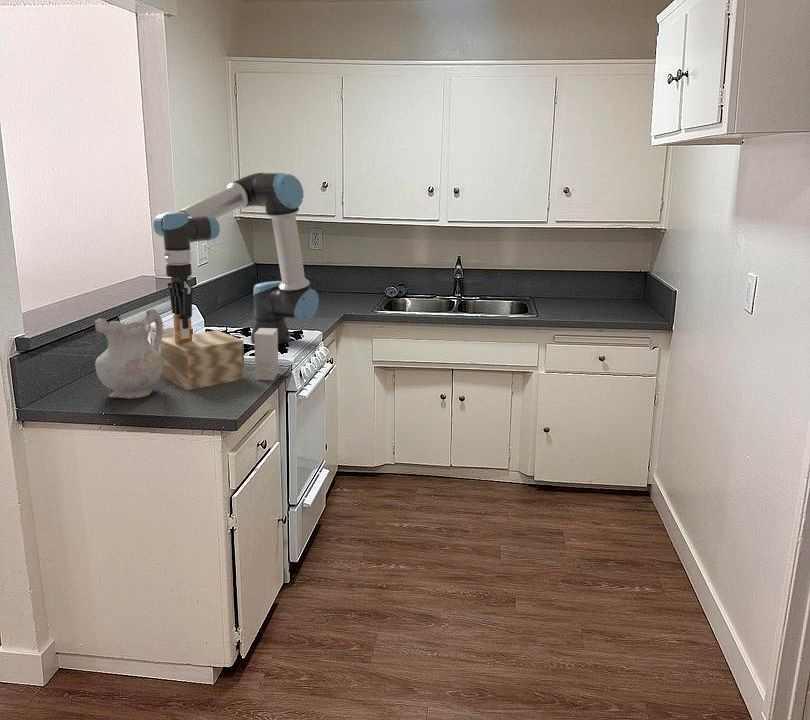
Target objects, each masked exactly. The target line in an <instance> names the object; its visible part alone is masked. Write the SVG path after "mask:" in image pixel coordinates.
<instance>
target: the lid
mask: <svg viewBox="0 0 810 720" xmlns="http://www.w3.org/2000/svg"><path fill="white" fill-rule="evenodd" d="M178 317H180V314H178V315H175V314H173V328H174V337H169V338H163V339H161V342H163V343H165V344H167V345H169V346H171V347H173V348H176V349H178V350H180V351H182V352H184V353H185V352H191V351H197V350H203V349H209V348H215V347H221V346H227V345H233V344H239V343H243V344H244V340H243V339H240V338H239V337H235V336H233V335H231V334H228V333H225V332H222V331H220V330H217V329H216V330H215V329H214V330H209V331H202V332H196V333H193V330H192V317H189V318H188V320H189V335H190V338H187V339H181V337H180V323H179V318H178Z"/></svg>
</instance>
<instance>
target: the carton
mask: <svg viewBox="0 0 810 720" xmlns="http://www.w3.org/2000/svg"><path fill="white" fill-rule="evenodd" d="M160 347H161V355H162V357H163V360H164V370H163V373H162V378H163V379H165V380H167V381H169V382H171V383H173V384H174V385H177V386H178V387H179V388H182V389H184V390H186V391H192V390H196V389H201V388H206V387H211V386H216V385H221V384H226V383H231V382H236V381H240V380H241V381H242V380H246V373H245V371H246V370H245V354H244V353H245V352H244V351H245V350H244V342H243V343H239V344H233V345H227V346H221V347H215V348H209V349H203V350H197V351H191V352H185V353H184V352H182V351H180V350H178V349H176V348H173V347H171V346H169V345H167V344H165V343H163V342H160Z"/></svg>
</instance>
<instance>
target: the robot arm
mask: <svg viewBox="0 0 810 720" xmlns="http://www.w3.org/2000/svg"><path fill="white" fill-rule="evenodd" d="M304 195H305V194H304V189H303V186H302V183H301V182H300V180H299V179H298V178H297V177H296V176H295V175H292V174H290V173H283V172H281V173H279V172H269V173H268V172H256V173H255V172H254V173H252V174H248V175H246V176H244V177H242V178H240V179H237V180H234V181H232V182H230V183H229V184H227V187H226V188H224V189H222V190H220V191H218V192H216V193H214V194H211V195H209V196H207V197H205V198H203V199H201V200H198V201H197V202H194V203H192V204H190V205H188V206H186V207H184V208H181V209H179V210H176V211H168V212H167V211H166V212H165V213H160V214H158V215H157V216H156V217H155V218H154V219H153V230H154V232H155V234H156V235H157V236H159V237H162V238H163V242H164V243H163V245H164V246H163V247H164V254H163V256H164V257H165V263H166V264H165V271H166V276H167V277H168V278H171V281H170V282H167V288H168V291H169V293H168V294H169V299H170V300H169V301H170V306H171V307H170V308H171V313H172V314H173V315H178V314H180V317H178V318H179V323H180V337H181V339H187V338H190V335H189V320H188V318H189V317H191V318H192V316H193V292H194V288H193V286H190V285H189V279H188V277H191V276H192V275H193V272H192V271H193V269H192V264H191V262H192V253H191V243H195V242H202V241H203V242H205V241H211V240H215V239H217V238H218V236H219V235H220V230H221V229H220V223H219V221H218V220H217V218H220V217H222V216H223V215H226V214H228V213H231V212H233V211H234V210H236V209H238V210H243V209H245V208H248V207H255V206H256V207H265V212H266V216H268V217H269V218H270V219H271V222H272V224H271V225H272V228H273V229H272V230H273V235H274V241H275V246H276V252H277V253H276V255H277V259H278V266H279V272H280V278H281V280H276V281H275V280H274V281H272V280H271V281H264V282H259V283H256V284H255V285H254V286H253V294H252V297H253V317H254V322H253V323H254V324H253V327H252V331H251V335H250V342H251V343H252V344H254V345H255V342H254V334H255V333H256V331H257V330H258V329H259V328H277V329H278V344H279V345H282V344H281V343H284V344H286V342H287V343H289V342H290V341H291V334H290V331H289V328H288V326H287V323H286V318H288V319H294V320H297V321H298V320H299V321H300V320H303V321H307V320H309V319H311V318H313V316H315V314H316V312H317V310H318V308H319V301H320V298H319V297H320V296H319V295H318V292H317V291H316V290H315V289H312V288H311V283H310V280H309V279H307V278H306V276H305V269H304V263H303V256H302V250H301V243H300V237H299V230H298V224H297V218H296V217H297V216H296V215H297V214H298V212H299V211H300V208H299V207H300V206H301V205H302V203H303V199H304Z"/></svg>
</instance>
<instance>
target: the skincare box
mask: <svg viewBox="0 0 810 720" xmlns="http://www.w3.org/2000/svg"><path fill="white" fill-rule="evenodd" d="M254 342H255V344H254V370H255V371H254V372H255V373H254V374H255V377H254V378H255V381H256V380H257V381H275V379H276V378H277V376H278V374H279V345H278V329H277V328H259V329H258V330H257V331H256V333H255V334H254Z"/></svg>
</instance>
